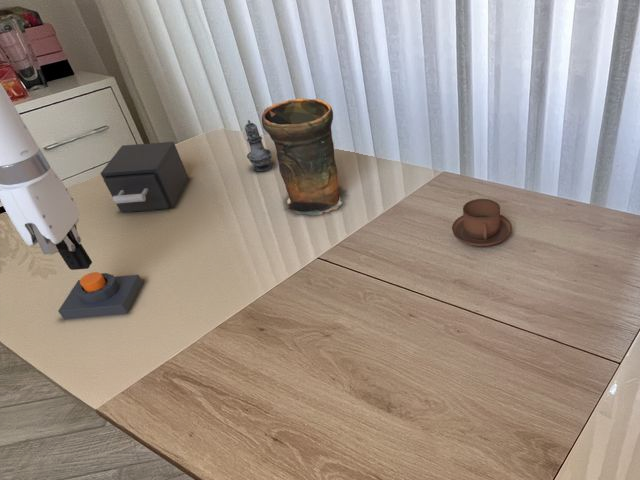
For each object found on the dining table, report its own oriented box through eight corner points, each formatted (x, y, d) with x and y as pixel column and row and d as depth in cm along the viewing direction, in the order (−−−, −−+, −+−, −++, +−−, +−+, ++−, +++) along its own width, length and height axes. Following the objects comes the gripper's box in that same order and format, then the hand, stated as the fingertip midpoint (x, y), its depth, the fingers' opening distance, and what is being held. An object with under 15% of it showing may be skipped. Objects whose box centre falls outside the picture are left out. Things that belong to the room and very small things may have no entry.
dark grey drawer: (163, 218, 119) (147, 185, 113) (114, 222, 118) (95, 189, 113) (183, 181, 131) (169, 149, 125) (138, 184, 130) (123, 153, 125)
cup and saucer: (522, 241, 110) (523, 214, 105) (468, 258, 106) (467, 231, 102) (494, 213, 117) (494, 187, 113) (443, 228, 114) (441, 201, 110)
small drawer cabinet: (174, 209, 123) (156, 168, 117) (121, 213, 123) (100, 173, 116) (189, 180, 133) (173, 141, 126) (140, 183, 132) (121, 145, 126)
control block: (64, 320, 97) (51, 303, 94) (84, 288, 103) (72, 271, 101) (128, 314, 98) (117, 297, 95) (144, 283, 104) (134, 266, 101)
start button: (81, 293, 97) (76, 285, 95) (89, 280, 99) (84, 273, 98) (102, 291, 97) (97, 283, 96) (109, 279, 99) (104, 271, 98)
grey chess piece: (246, 172, 135) (230, 124, 126) (258, 161, 139) (243, 114, 130) (268, 174, 134) (253, 125, 125) (279, 163, 138) (265, 115, 129)
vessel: (357, 185, 128) (340, 97, 114) (338, 218, 118) (318, 125, 104) (299, 183, 130) (275, 96, 116) (275, 214, 120) (247, 123, 106)
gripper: (15, 146, 87) (76, 243, 100) (-35, 193, 77) (40, 295, 90) (64, 143, 88) (118, 240, 101) (21, 190, 77) (87, 291, 90)
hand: (81, 266), depth 95 cm, fingers closed
